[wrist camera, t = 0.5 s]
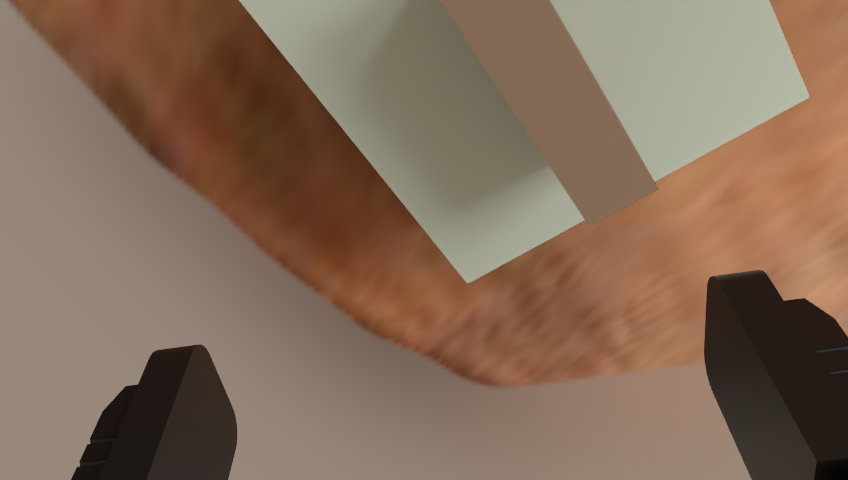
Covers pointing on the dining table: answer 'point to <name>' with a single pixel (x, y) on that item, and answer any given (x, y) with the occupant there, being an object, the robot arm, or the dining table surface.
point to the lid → (532, 102)
